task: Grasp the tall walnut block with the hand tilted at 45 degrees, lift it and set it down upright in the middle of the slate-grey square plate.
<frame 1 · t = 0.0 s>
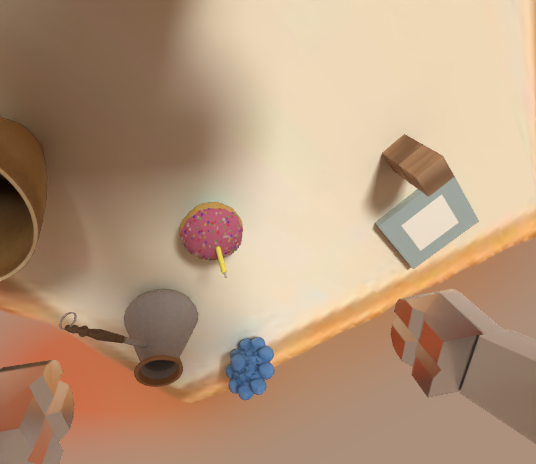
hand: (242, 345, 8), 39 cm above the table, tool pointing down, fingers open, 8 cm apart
cupcake: (209, 215, 51), on the table
coffee pot: (142, 288, 55), on the table
plate: (426, 220, 60), on the table
walnut block: (399, 152, 52), on the table
grapes: (240, 338, 67), on the table
plant pot: (10, 150, 40), on the table
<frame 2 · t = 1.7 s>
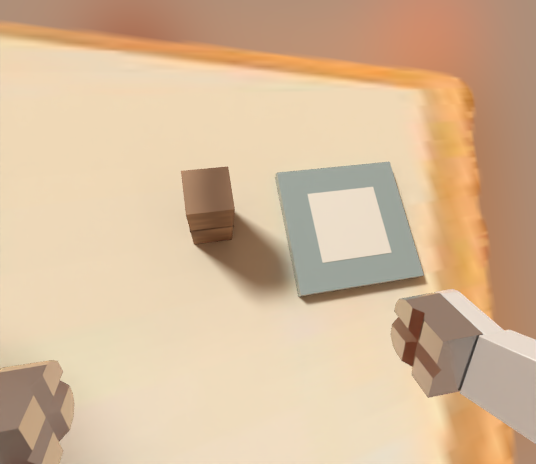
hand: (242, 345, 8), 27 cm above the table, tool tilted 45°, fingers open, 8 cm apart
plate: (345, 226, 39), on the table
walnut block: (210, 224, 38), on the table
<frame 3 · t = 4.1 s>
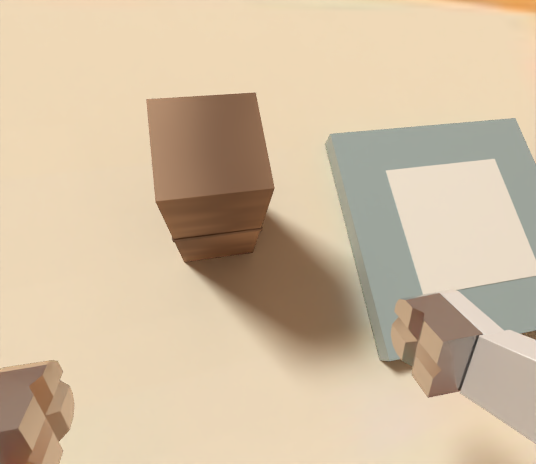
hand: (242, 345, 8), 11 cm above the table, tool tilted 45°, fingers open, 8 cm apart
plate: (449, 227, 23), on the table
walnut block: (214, 225, 21), on the table
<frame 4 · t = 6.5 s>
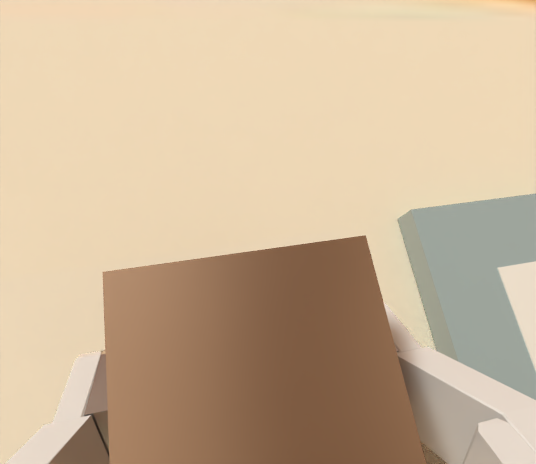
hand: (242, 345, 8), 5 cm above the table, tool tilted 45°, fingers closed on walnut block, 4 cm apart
walnut block: (238, 361, 13), on the table, touching gripper
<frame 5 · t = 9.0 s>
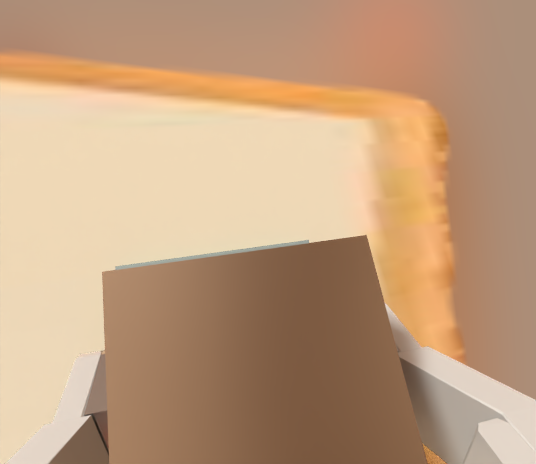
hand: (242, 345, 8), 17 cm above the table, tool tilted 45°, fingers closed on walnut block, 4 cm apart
plate: (229, 352, 24), on the table
walnut block: (238, 361, 13), point 12 cm above the table, touching gripper
when the fingers open (7 cm above the table, at t = 11.5 s): walnut block stays where it is, resting on plate.
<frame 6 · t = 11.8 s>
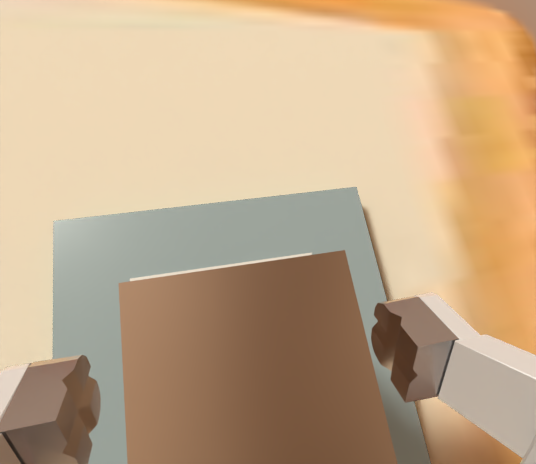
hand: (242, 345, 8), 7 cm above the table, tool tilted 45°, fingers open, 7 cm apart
plate: (237, 359, 15), on the table
walnut block: (236, 360, 14), point 1 cm above the table, touching plate
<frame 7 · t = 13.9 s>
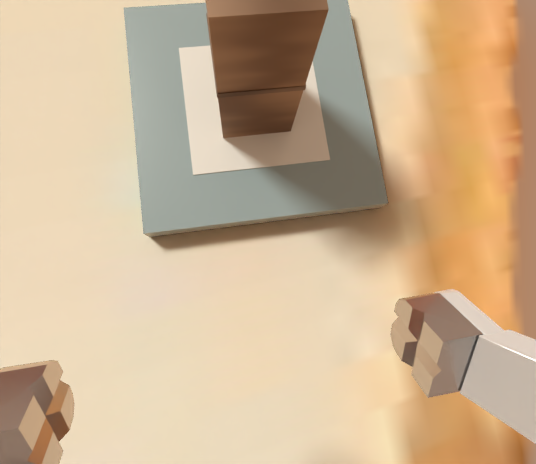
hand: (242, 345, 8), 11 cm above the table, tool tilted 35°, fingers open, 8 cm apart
plate: (252, 113, 22), on the table
walnut block: (252, 103, 20), point 1 cm above the table, touching plate
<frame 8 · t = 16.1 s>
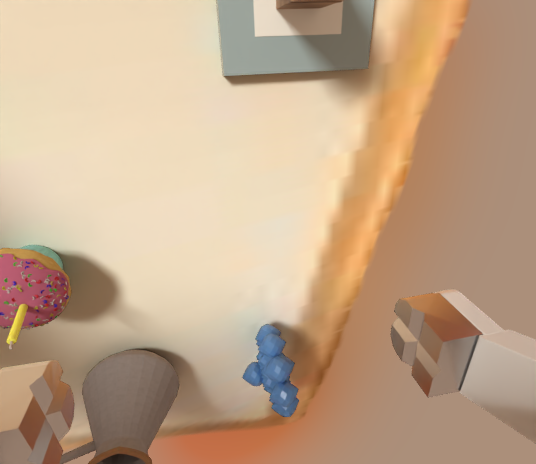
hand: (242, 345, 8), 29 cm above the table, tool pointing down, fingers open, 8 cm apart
cupcake: (38, 264, 37), on the table
coffee pot: (95, 371, 45), on the table
grapes: (259, 334, 48), on the table
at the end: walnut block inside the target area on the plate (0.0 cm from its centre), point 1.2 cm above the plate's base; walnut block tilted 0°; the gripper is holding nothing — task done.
